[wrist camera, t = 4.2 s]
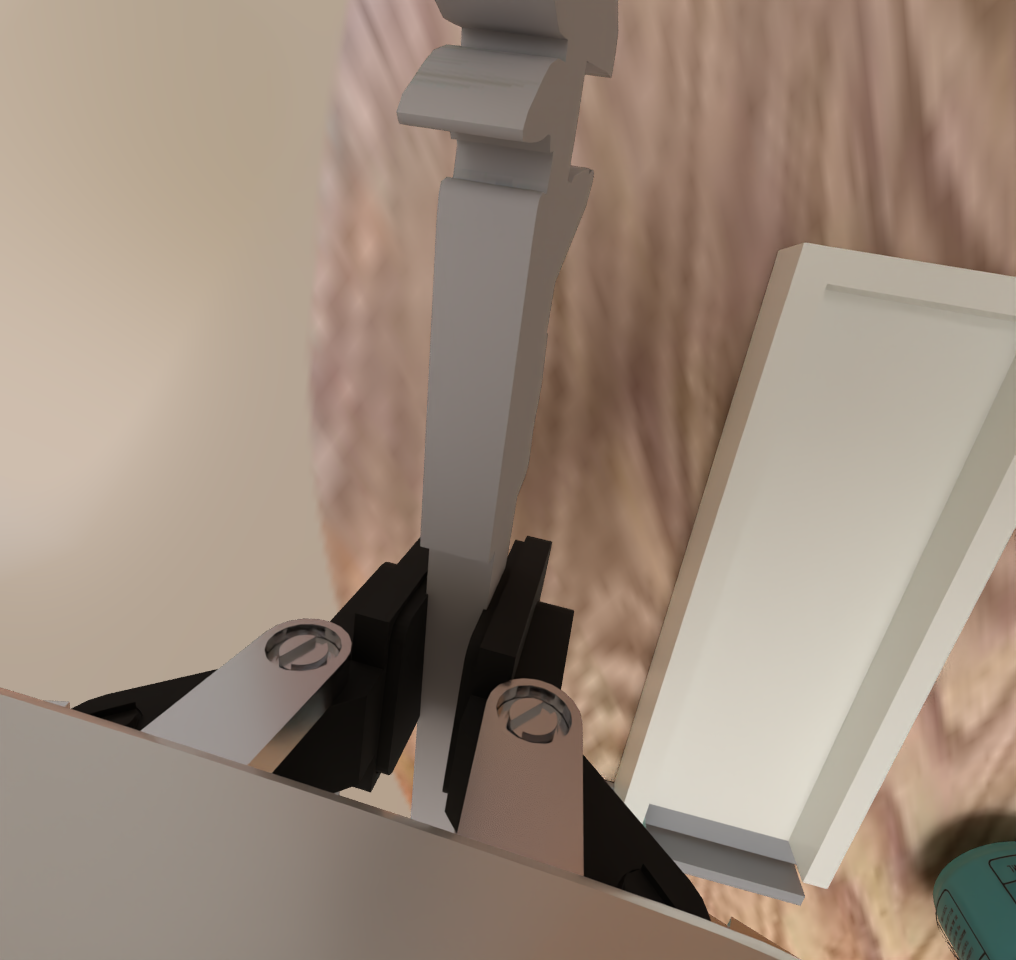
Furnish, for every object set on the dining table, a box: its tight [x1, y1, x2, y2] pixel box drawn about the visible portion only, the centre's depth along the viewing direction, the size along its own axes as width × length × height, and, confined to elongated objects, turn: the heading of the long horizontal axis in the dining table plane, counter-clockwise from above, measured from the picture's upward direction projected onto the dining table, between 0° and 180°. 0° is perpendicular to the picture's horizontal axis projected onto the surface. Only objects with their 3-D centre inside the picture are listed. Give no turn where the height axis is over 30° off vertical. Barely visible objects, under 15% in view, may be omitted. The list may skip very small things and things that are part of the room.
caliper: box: [397, 0, 618, 834], centre depth 9 cm, size 20×1×6 cm, turn 170°
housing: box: [606, 242, 1016, 905], centre depth 21 cm, size 15×26×2 cm, turn 170°
